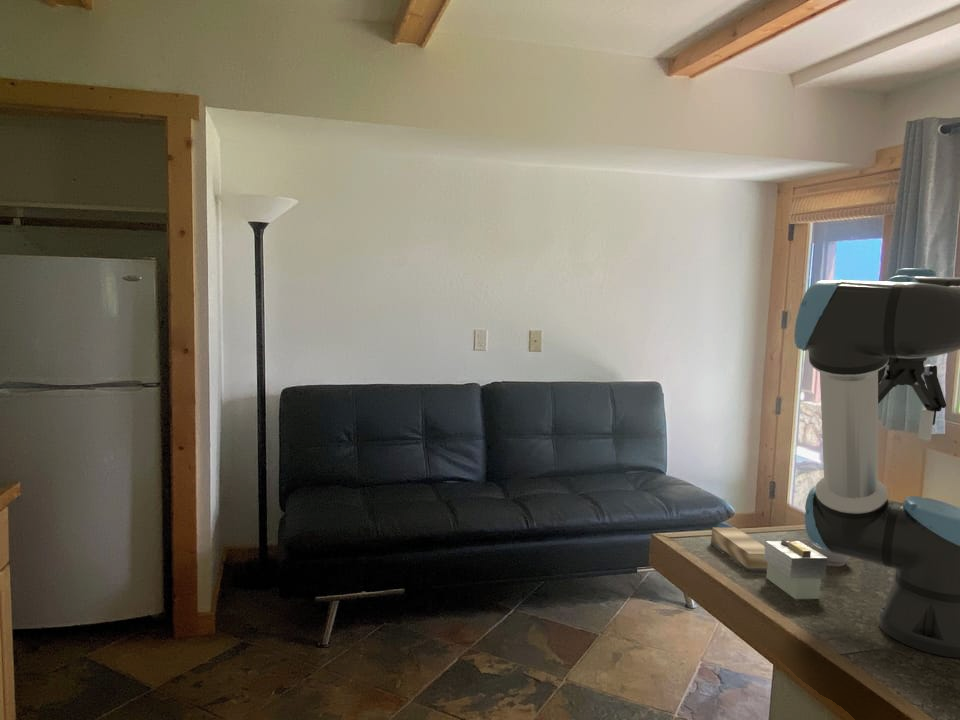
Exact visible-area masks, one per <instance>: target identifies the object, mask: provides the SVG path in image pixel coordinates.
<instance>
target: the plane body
mask: <svg viewBox="0 0 960 720" xmlns="http://www.w3.org/2000/svg"><path fill="white" fill-rule="evenodd" d="M710 537H711V539H710V545H711V546H713V547H714V548H715V549H716V548H717V549H716V550H718V551H719V550H720V551H721V552H720V551H719V552H720V553H722V552H723V553H724V554H725V555H724V554H723V553H722V554H723V555H724V556H726V555H727V556H728V557H729V559H730V558H731V559H732V560H733V561H732V560H731V559H730V560H731V561H732V562H734V561H735V562H736V563H737V564H739V565H740V566H741V567H742V568H741V569H743V568H744V569H745V570H746V571H745V570H744V569H743V570H744V571H745V572H747V571H748V572H747V573H767V565H768V563H767V562H766V561H765V560H764V554H765V546H764V545H763V544H762V543H761V542H759V541H757V540H756V539H754V538H752V537H751V536H750V535H748V534H747V533H745V532H743V531H742V530H740V529H739V528H737V527H712V529H711V535H710ZM727 556H726V557H727ZM728 557H727V558H728ZM735 562H734V563H735ZM736 563H735V564H736ZM737 564H736V565H737ZM739 565H738V566H739ZM740 566H739V567H740ZM749 571H750V572H749Z"/></svg>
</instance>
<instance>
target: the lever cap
mask: <svg viewBox="0 0 960 720" xmlns="http://www.w3.org/2000/svg"><path fill="white" fill-rule="evenodd" d="M764 560H765V561H766V562H767V563H769V564H770V565H772V566H773V567H775V568H776V569H777V570H779V571H780V572H782V573H783V574H785V575H786V576H787V577H789V578H820V579H825V578H826V575H827V574H826V573H827V566H828V565H827V557H825V556H823V555H822V554H820V553H818V552H817V551H815V550H813V549H812V548H810V547H809V546H808V544H807V545H806V544H805V543H803V542H802V541H799V540H794V541H793V540H791V539H786V538H783V539H781V540H769V541H768V540H767V541H765V554H764Z"/></svg>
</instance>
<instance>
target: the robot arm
mask: <svg viewBox="0 0 960 720" xmlns="http://www.w3.org/2000/svg"><path fill="white" fill-rule="evenodd" d="M794 324H795V325H794V333H793V334H794V335H793V337H794V345H795V347H796V348H797V349H799V350H802V352H803V351H806V352H807V351H808V360H809V365H810V366H811V367H812V368H813V369H815V370H816V371H817V372H819V382H820V383H819V386H820V387H819V388H820V389H819V391H820V409H821V410H820V411H821V412H820V413H821V434H822V435H821V436H822V437H821V438H822V439H821V440H822V457H823V458H822V459H823V461H822V462H823V477H822V478H821V479H820V480H819V481H818V482H817V483H816V485H814V486H813V487H812V488H811V489H810V490H809V492H808V494H807V497H806V499H805V504H804V505H805V506H804V509H805V513H804V526H805V530H806V531H805V532H806V535H807V538H808V539H809V540H810V541H811V542H812V543H813V544H814V545H815V546H817V547H819V548H822V549H825V550H827V551H830V552H832V553H836V554H842V555H845V556H849V557H850V558H854V559H857V560H862V561H866V562H869V563H873V564H877V565H880V566H884V567H888V568H891V569H894V570H895V578H894V584H893V587H892V588H891V591H890V593H889V594H888V597H887V599H886V602H885V604H883V605H882V606H881V608H880V609H879V616H878V626H879V628H880V629H881V630H882V631H883V632H884V633H885V634H886V635H887V636H889V637H890V638H892V639H894V640H896V641H897V642H900V643H901V644H903V645H906V646H907V647H911V648H913V649H915V650H919V651H922V652H925V653H928V654H931V655H932V654H933V655H937V656H940V657H946V658H947V657H948V658H954V659H955V658H957V659H959V658H960V507H959V506H956V505H954V504H951V503H948V502H944V501H942V500H938V499H934V498H930V497H921V496H918V495H910V496H907V497H906V498H905V499H904V500H903V502H899V501H898V502H897V501H893V500H890V499H889V497H888V496H889V495H888V494H889V493H888V489H887V488H886V486H885V485H884V484H883V483H882V482H881V481H880V480H879V404H880V403H881V401H882V400H883V399H884V398H885V397H886V396H887V395H888V394H889V392H890V391H891V390H892V389H893V388H896V387H897V386H898V385H899V386H911V387H912V389H913V391H914V393H915V394H916V396H917V397H918V398H919V400H920V402H921V403H922V405H923V407H924V408H921V409H920V419H919V425H918V435H917V439H919V440H923V441H927V442H931V441H932V435H933V434H932V433H933V426H935V424H936V416H937V412H942V409H945V408H946V407H947V403H946V400H945V396H944V393H943V390H942V387H941V383H940V379H939V378H938V366H937V365H933V364H928V363H925V364H924V362H927V358H931V357H937V356H940V355H941V356H942V355H944V354H949V353H953V352H957V351H959V350H960V277H950V276H949V277H948V276H937V274H936V271H935V270H934V269H931V268H929V269H928V268H909V267H908V268H907V267H906V268H898V269H897V270H896V271H895V273H894V276H892V277H890V278H888V279H886V280H885V281H874V280H872V281H871V280H844V279H843V278H842V279H837V280H819V281H816V282H813V284H811V285H810V286H809V287H808V288H807V290H806V291H805V292H804V295H803V298H802V299H801V302H800V304H799V308H798V312H797V316H796V319H795V323H794ZM922 376H923V377H922Z"/></svg>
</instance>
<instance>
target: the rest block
mask: <svg viewBox="0 0 960 720" xmlns="http://www.w3.org/2000/svg"><path fill="white" fill-rule="evenodd" d="M765 578H766V579H767V580H769V581H770V582H771V583H773V584H774V585H775V586H777V587H778V588H779V589H781V590H783V592H785V593H786V594H787V595H789V596H790V597H792V598H793V599H794V600H817V599H818V600H819V599H820V594H821V593H820V592H821V582H822V578H789V577H787V576H786V575H785V574H783V573H782V572H780V571H779V570H777V569H776V568H775V567H773V566H772V565H770V564H769V563H768V565H767V572H766V576H765Z"/></svg>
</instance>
